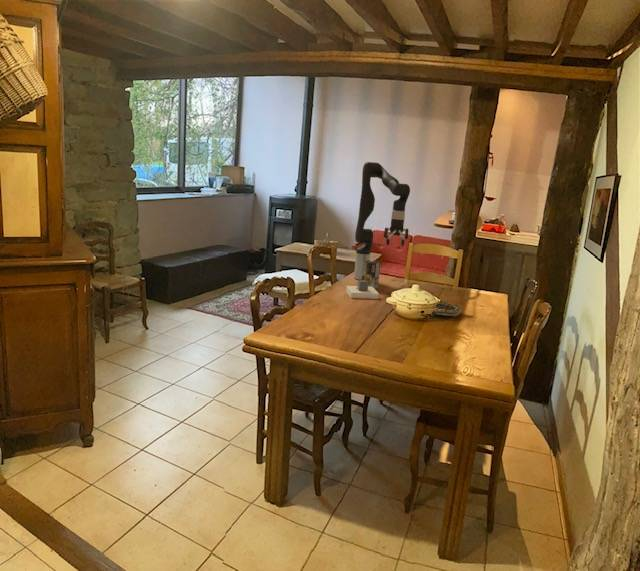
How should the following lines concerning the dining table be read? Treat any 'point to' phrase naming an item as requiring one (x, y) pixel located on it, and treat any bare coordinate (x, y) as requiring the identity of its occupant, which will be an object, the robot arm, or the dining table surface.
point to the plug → (362, 285)
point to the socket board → (362, 292)
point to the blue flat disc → (446, 310)
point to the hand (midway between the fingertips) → (394, 245)
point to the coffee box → (371, 273)
